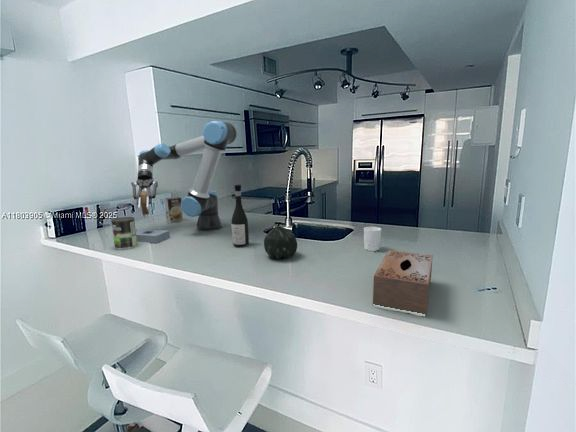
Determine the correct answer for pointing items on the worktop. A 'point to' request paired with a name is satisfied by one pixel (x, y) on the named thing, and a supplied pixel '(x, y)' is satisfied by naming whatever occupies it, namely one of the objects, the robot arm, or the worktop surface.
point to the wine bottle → (239, 222)
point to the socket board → (152, 235)
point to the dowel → (144, 202)
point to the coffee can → (124, 233)
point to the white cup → (372, 238)
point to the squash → (280, 243)
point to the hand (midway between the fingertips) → (143, 208)
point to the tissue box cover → (403, 281)
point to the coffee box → (173, 210)
